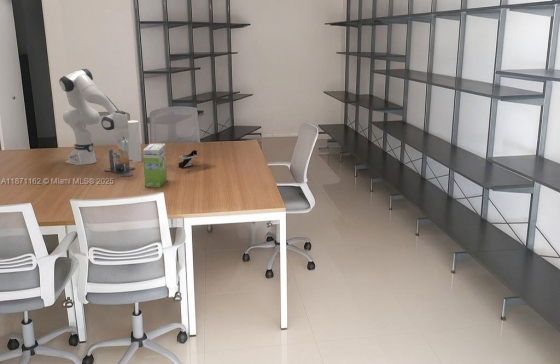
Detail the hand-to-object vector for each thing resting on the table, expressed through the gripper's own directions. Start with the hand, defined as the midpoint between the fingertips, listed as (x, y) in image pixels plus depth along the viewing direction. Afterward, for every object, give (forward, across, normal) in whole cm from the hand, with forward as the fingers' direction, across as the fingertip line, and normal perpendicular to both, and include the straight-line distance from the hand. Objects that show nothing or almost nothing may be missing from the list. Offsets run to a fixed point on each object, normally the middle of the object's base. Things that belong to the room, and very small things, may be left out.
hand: (123, 156), depth 352 cm
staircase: (+14, +1, -44) cm, 46 cm away
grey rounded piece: (+13, 0, 0) cm, 13 cm away
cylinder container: (+13, +37, -14) cm, 42 cm away
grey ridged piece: (+13, +15, +1) cm, 20 cm away
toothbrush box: (+14, -29, -14) cm, 35 cm away
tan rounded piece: (+5, 0, 0) cm, 5 cm away
